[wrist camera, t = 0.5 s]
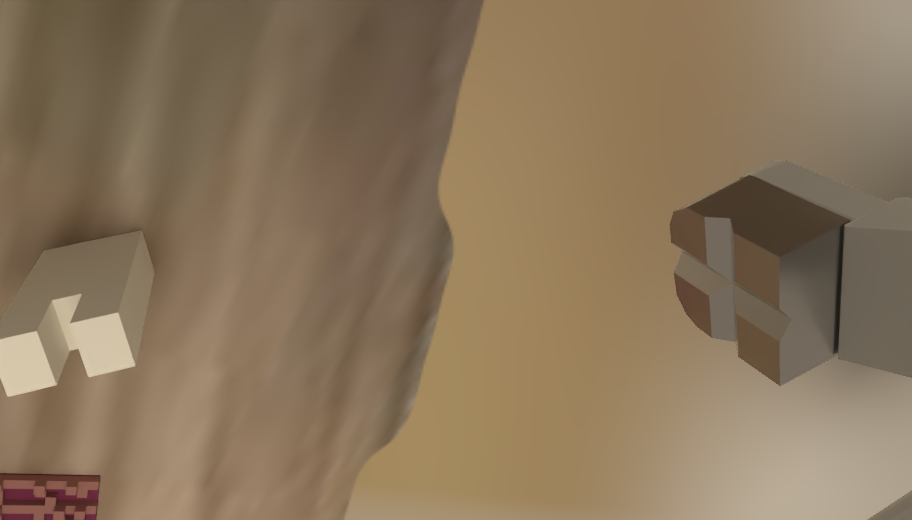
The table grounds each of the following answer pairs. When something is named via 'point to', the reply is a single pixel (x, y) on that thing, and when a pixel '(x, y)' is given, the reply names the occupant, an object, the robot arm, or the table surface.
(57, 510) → the chocolate bar
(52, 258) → the notched plate
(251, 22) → the table surface
